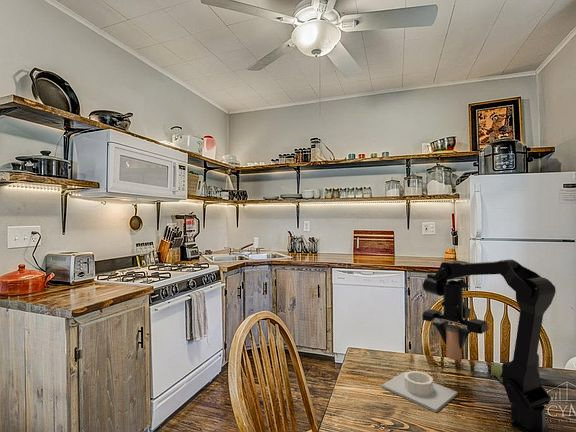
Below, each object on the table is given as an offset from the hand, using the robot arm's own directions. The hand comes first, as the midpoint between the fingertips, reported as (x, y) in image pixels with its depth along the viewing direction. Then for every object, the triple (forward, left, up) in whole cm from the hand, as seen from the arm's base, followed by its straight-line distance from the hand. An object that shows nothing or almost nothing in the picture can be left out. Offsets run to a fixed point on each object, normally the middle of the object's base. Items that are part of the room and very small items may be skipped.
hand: (453, 346), depth 106 cm
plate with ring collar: (+6, +12, -13) cm, 18 cm away
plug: (0, 0, -4) cm, 4 cm away
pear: (-9, -16, -13) cm, 22 cm away
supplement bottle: (-14, -23, -13) cm, 30 cm away
